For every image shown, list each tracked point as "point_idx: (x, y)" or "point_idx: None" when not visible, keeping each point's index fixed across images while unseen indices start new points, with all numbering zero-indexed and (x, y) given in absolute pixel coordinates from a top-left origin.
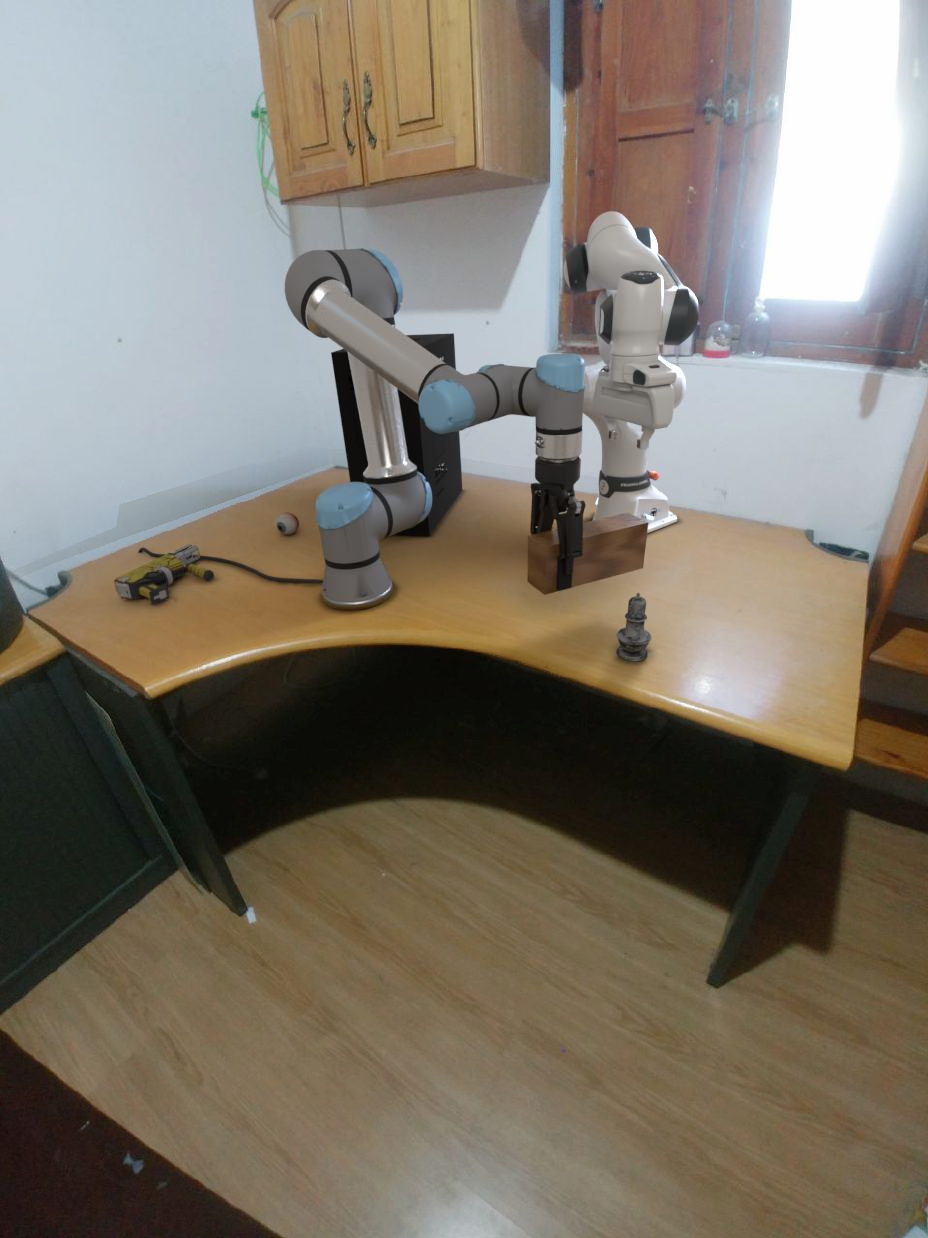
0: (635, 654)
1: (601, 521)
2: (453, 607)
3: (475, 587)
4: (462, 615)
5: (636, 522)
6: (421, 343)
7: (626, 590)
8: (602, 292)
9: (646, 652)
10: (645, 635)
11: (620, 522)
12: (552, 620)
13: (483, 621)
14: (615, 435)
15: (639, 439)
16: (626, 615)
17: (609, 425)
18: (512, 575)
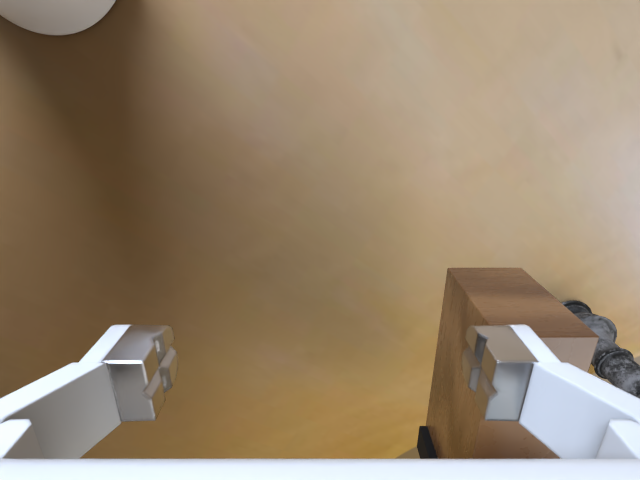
0: None
1: (499, 426)
2: (296, 449)
3: (249, 404)
4: (325, 448)
5: (574, 363)
6: None
7: (404, 199)
8: None
9: (585, 307)
10: (610, 334)
11: None
12: (414, 360)
13: (358, 433)
14: (160, 357)
15: (501, 411)
16: (602, 376)
17: (77, 444)
18: (234, 340)
